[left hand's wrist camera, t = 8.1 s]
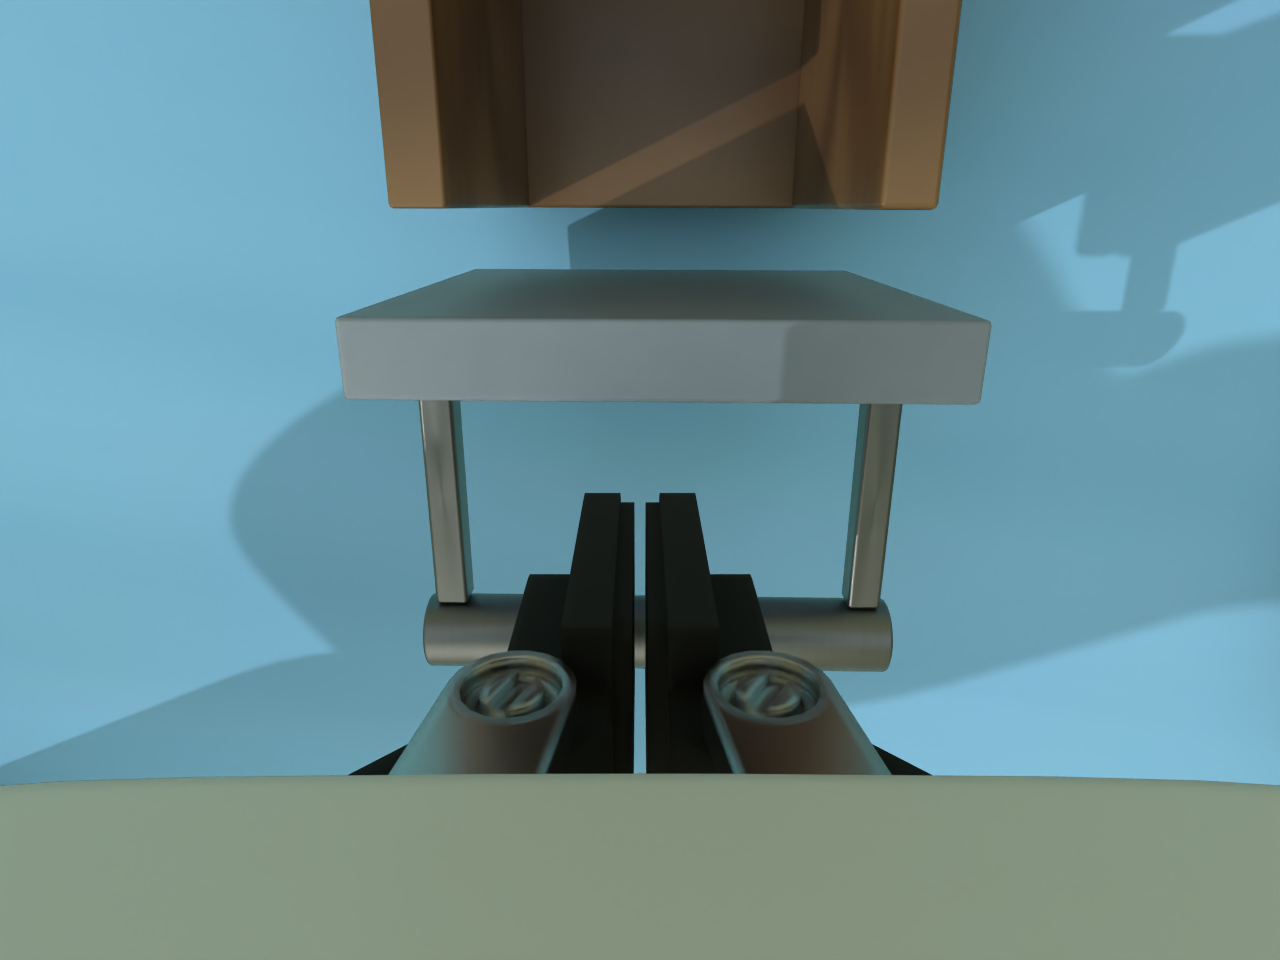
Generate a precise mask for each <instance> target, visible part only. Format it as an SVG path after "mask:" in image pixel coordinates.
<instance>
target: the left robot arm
mask: <svg viewBox="0 0 1280 960" xmlns="http://www.w3.org/2000/svg"><path fill="white" fill-rule="evenodd" d="M634 697H635V563H634V502H621V496H620V493H585V495H584V500H583V506H582V511H581V517H580V522H579V528H578V533H577V539H576V544H575V550H574V555H573V561H572V566H571V572H570V574H530V575H529V578H528V581H527V584H526V587H525V591H524V594H523V598H522V601H521V605H520V608H519V612H518V615H517V619H516V622H515V626H514V629H513V633H512V636H511V640H510V643H509V647H508V650H507V651H506V652H501V653H495V654H490V655H488V656H485V657H482V658H479V659H477V660H474V661H472V662H471V663H469V664H467V665H466V666H464V667H462V668H461V669H459V670H458V671H457V673H456V674H455V675H454V676H453V677H452V678H451V679H450V680H449V682H448V683H447V685H446V686H445V688H444V689H443V691H442V692H441V694H440V695H439V697H438V699H437V700H436V702H435V703H434V705H433V706H432V708H431V709H430V711H429V712H428V714H427V716H426V717H425V719H424V720H423V722H422V723H421V725H420V726H419V728H418V730H417V731H416V733H415V734H414V736H413V737H412V739H411V740H410V742H409V743H408V744H407V745H405V746H403V747H401V748H399V749H398V750H396V751H394V752H392V753H390V754H388V755H386V756H384V757H382V758H380V759H378V760H376V761H374V762H372V763H370V764H368V765H367V766H365V767H363V768H361V769H359V770H357V771H355V772H353V773H351V774H349V775H347V776H257V777H184V778H152V779H121V780H89V781H59V782H45V783H31V784H17V785H3V786H0V960H1280V785H1264V784H1249V783H1233V782H1217V781H1197V780H1161V779H1124V778H1088V777H1045V776H933V775H931V774H929V773H927V772H925V771H923V770H921V769H919V768H917V767H915V766H913V765H912V764H910V763H908V762H906V761H904V760H902V759H900V758H898V757H896V756H894V755H892V754H890V753H888V752H886V751H884V750H882V749H880V748H879V747H877V746H875V745H873V744H872V743H871V742H870V740H869V739H868V737H867V736H866V734H865V733H864V731H863V730H862V728H861V726H860V725H859V723H858V722H857V720H856V719H855V717H854V716H853V714H852V712H851V711H850V709H849V708H848V706H847V705H846V703H845V702H844V700H843V699H842V697H841V695H840V694H839V692H838V691H837V689H836V688H835V686H834V685H833V683H832V682H831V680H830V679H829V678H828V677H827V676H826V675H825V674H824V673H823V671H822V670H821V669H819V668H818V667H816V666H814V665H813V664H811V663H809V662H808V661H806V660H803V659H801V658H798V657H795V656H792V655H790V654H785V653H779V652H774V651H773V650H772V647H771V643H770V640H769V636H768V633H767V629H766V626H765V622H764V619H763V615H762V612H761V608H760V605H759V601H758V598H757V594H756V591H755V588H754V584H753V581H752V578H751V575H750V574H710V572H709V566H708V561H707V555H706V550H705V544H704V539H703V533H702V528H701V522H700V517H699V511H698V506H697V500H696V495H695V493H660V496H659V502H646V562H645V698H646V774H634Z"/></svg>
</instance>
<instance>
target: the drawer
mask: <svg viewBox="0 0 1280 960" xmlns="http://www.w3.org/2000/svg"><path fill="white" fill-rule="evenodd" d="M369 1H370V11H371V22H372V32H373V43H374V53H375V64H376V74H377V85H378V95H379V106H380V116H381V127H382V137H383V148H384V159H385V169H386V180H387V190H388V201H389V205H390V207H392V208H517V207H569V208H811V209H868V210H932V209H934V208H936V206H937V204H938V201H939V192H940V184H941V175H942V167H943V159H944V150H945V142H946V133H947V125H948V116H949V108H950V100H951V91H952V83H953V74H954V66H955V58H956V49H957V41H958V32H959V24H960V15H961V7H962V0H369ZM335 324H336V332H337V340H338V349H339V357H340V365H341V373H342V382H343V390H344V396H345V398H347V399H350V400H419V409H420V420H421V431H422V442H423V453H424V464H425V475H426V486H427V497H428V509H429V520H430V531H431V542H432V553H433V564H434V575H435V586H436V593H435V594H433V595H432V596H431V598H430V600H429V602H428V605H427V608H426V613H425V618H424V627H423V646H424V653H425V657H426V660H427V662H428V663H429V664H430V665H444V666H466V665H467V664H469V663H471V662H472V661H474V660H477V659H479V658H482V657H485V656H488V655H490V654H495V653H501V652H506V651H507V650H508V647H509V643H510V640H511V636H512V633H513V629H514V626H515V622H516V619H517V615H518V612H519V608H520V605H521V601H522V598H523V594H472V591H473V589H474V587H473V573H472V560H471V546H470V532H469V518H468V505H467V491H466V477H465V464H464V450H463V436H462V422H461V409H460V401H585V402H714V403H843V404H860V410H859V420H858V431H857V441H856V451H855V462H854V472H853V483H852V493H851V504H850V514H849V524H848V535H847V545H846V556H845V566H844V577H843V587H842V595H843V597H844V598H796V597H757V598H758V601H759V605H760V608H761V612H762V615H763V619H764V622H765V626H766V629H767V633H768V636H769V640H770V643H771V647H772V650H773V651H774V652H779V653H785V654H790V655H792V656H795V657H798V658H801V659H803V660H806V661H808V662H809V663H811V664H813V665H814V666H816V667H818V668H819V669H821V670H822V671H872V672H883V671H885V670H887V669H888V667H889V664H890V661H891V656H892V648H893V632H892V623H891V617H890V613H889V610H888V607H887V605H886V603H885V602H884V601H883V600H882V599H880V596H881V587H882V579H883V570H884V561H885V552H886V543H887V535H888V526H889V517H890V508H891V499H892V491H893V482H894V473H895V464H896V455H897V447H898V438H899V429H900V420H901V412H902V404H972V405H974V404H977V403H979V402H980V399H981V392H982V386H983V379H984V372H985V365H986V358H987V351H988V345H989V338H990V331H991V323H990V321H987V320H985V319H982V318H979V317H976V316H973V315H970V314H968V313H965V312H962V311H959V310H956V309H953V308H950V307H947V306H945V305H942V304H939V303H936V302H933V301H930V300H927V299H924V298H922V297H919V296H916V295H913V294H910V293H907V292H904V291H901V290H898V289H896V288H893V287H890V286H887V285H884V284H881V283H878V282H875V281H873V280H870V279H867V278H864V277H861V276H858V275H855V274H852V273H850V272H847V271H763V270H547V269H475V270H472V271H469V272H466V273H463V274H460V275H457V276H454V277H452V278H449V279H446V280H443V281H440V282H437V283H434V284H431V285H429V286H426V287H423V288H420V289H417V290H414V291H411V292H408V293H406V294H403V295H400V296H397V297H394V298H391V299H388V300H386V301H383V302H380V303H377V304H374V305H371V306H368V307H365V308H363V309H360V310H357V311H354V312H351V313H348V314H345V315H342V316H340V317H337V318H336V321H335ZM635 668H645V596H635Z"/></svg>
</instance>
